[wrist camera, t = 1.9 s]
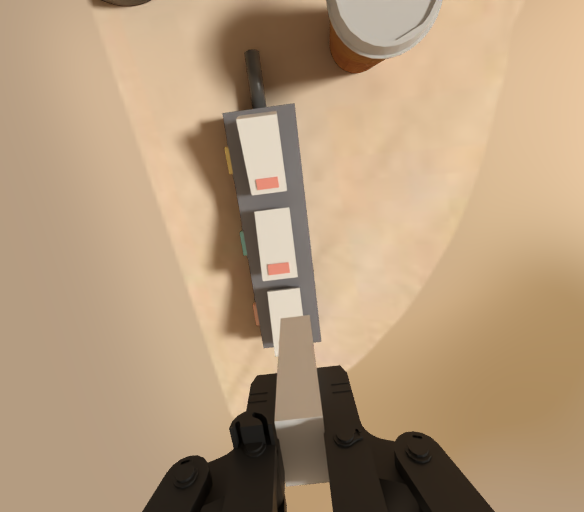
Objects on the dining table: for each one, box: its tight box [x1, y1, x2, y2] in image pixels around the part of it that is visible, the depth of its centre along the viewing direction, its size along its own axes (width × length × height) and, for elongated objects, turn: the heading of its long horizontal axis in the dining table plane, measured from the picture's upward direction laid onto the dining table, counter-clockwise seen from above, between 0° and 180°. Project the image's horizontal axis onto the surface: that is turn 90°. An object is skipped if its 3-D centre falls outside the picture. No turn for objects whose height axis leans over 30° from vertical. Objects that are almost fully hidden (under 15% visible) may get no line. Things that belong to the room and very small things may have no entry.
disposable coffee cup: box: [326, 0, 442, 73], centre depth 29 cm, size 10×10×12 cm
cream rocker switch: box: [267, 287, 303, 357], centre depth 38 cm, size 8×4×2 cm, turn 7°
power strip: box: [222, 50, 321, 348], centre depth 38 cm, size 36×8×5 cm, turn 7°
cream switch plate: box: [254, 207, 298, 281], centre depth 36 cm, size 8×4×2 cm, turn 7°
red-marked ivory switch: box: [236, 111, 287, 195], centre depth 33 cm, size 8×4×2 cm, turn 8°
